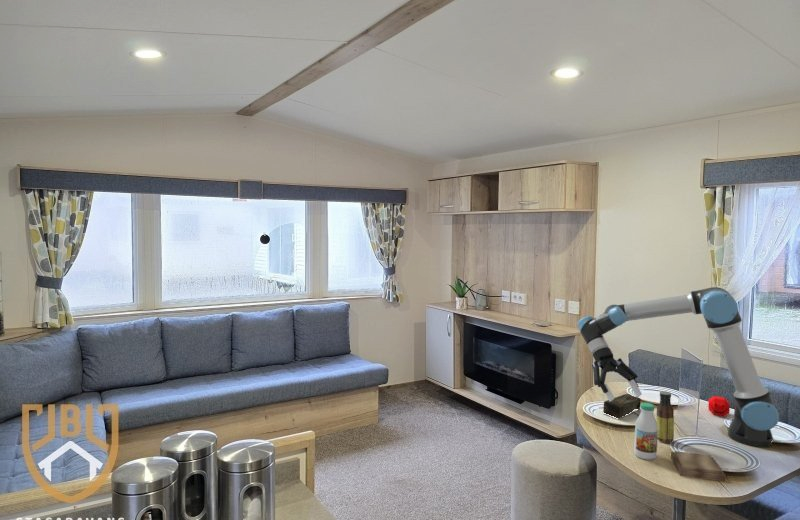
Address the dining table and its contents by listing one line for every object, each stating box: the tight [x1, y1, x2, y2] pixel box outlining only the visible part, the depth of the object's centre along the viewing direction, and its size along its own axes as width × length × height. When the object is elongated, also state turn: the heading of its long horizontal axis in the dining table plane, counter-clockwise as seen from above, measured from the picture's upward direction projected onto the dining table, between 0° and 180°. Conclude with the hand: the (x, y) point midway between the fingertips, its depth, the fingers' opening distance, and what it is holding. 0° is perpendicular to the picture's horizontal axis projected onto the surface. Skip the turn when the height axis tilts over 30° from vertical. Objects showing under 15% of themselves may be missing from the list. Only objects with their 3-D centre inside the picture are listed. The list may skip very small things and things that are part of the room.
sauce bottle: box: [656, 390, 675, 444], centre depth 207 cm, size 7×6×20 cm
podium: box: [670, 450, 727, 482], centre depth 185 cm, size 14×14×3 cm
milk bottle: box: [633, 402, 658, 461], centre depth 194 cm, size 8×8×20 cm
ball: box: [707, 395, 731, 417], centre depth 234 cm, size 8×8×8 cm
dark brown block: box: [602, 393, 642, 419], centre depth 237 cm, size 8×19×7 cm, turn 126°
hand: (625, 397), depth 203 cm, fingers open, 13 cm apart
